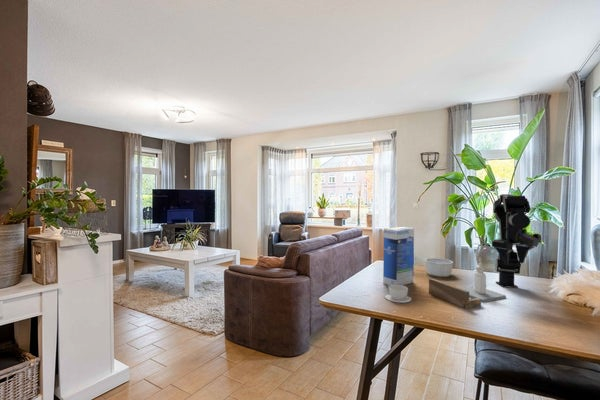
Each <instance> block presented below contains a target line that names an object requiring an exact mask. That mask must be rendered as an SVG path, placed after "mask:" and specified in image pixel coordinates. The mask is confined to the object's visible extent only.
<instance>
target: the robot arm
mask: <svg viewBox="0 0 600 400" xmlns="http://www.w3.org/2000/svg"><path fill="white" fill-rule="evenodd" d="M530 211H531V206H530V201H529V200H528V198H526V195H513V194H511V193H508V194H507V193H506V194H505V193H502V194H499V197H498V198H497V199H496V200H495V201H493V207H492V213H493V214H494V218H495V219H496V221H497V222H498V223H499V227H498V228H499V239H494V240H492V241H491V247H492V248H493V249H495V250H496V251H497V253H498V256H497V258H496V260H495V263H494V270H495V272H496V273H498V272H499V273H498V281H495V283H496V284H497V285H499V286H500V287H503V288H518V287H519V286H518V285H516V284H515V274H517V275H520V274H521V267H522V264H524V262H525V259H526V257H527V255H528V253H529V252H530V251H531V250H532V249H535V248H537V247H538V246H539V244H540V243H542V235H541V234H539V233H533V234H530V233H527V232H528V231H527V229H526V228H528V227H530V223H531V219H530V217H529V216H528V215H526V214H527V213H528V214H529V213H530ZM514 246H515V249H516V251H514V249H513V247H514Z"/></svg>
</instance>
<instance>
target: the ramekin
mask: <svg viewBox="0 0 600 400" xmlns="http://www.w3.org/2000/svg"><path fill="white" fill-rule="evenodd" d="M424 263H425V271H426V273H427V274H428V275H430V276H433V277H440V278H442V277H444V278H445V277H447V278H448V277H450V276H451V275H452V272H453V266H454V262H453V261H452V260H449V259H446V258H437V257H430V258H426V259H424Z"/></svg>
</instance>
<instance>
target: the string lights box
mask: <svg viewBox="0 0 600 400" xmlns="http://www.w3.org/2000/svg"><path fill="white" fill-rule="evenodd" d="M414 242H415V228H414V227H407V226H397V227H387V228H383V266H382V267H383V276H382V277H383V282H382V284H384V285H387V286H390V285H402V286H407V285H409V284H412V283H414V282H415V281H414V279H415V277H414V273H415V272H414V261H415V259H414V258H415V257H414V255H415V253H414V252H415V248H414V247H415V245H414V244H415V243H414Z"/></svg>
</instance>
